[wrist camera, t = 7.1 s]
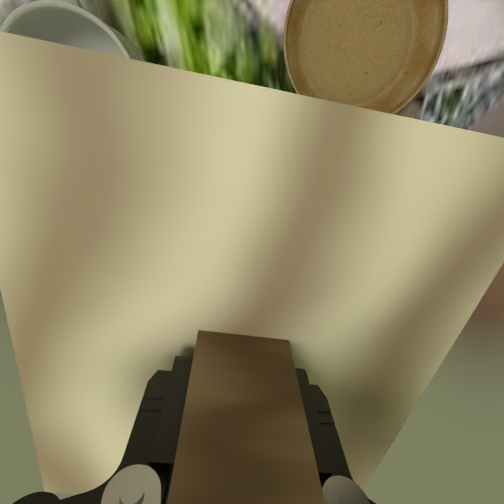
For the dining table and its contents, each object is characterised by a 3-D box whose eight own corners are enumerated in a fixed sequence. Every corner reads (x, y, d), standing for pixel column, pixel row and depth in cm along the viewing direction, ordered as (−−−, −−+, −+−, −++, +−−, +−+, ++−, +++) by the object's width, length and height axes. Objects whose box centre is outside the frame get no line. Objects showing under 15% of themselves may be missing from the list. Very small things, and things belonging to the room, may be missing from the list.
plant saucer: (352, -108, 24) (364, -132, 22) (463, 21, 28) (483, 12, 26) (249, 65, 29) (251, 61, 27) (357, 153, 33) (366, 156, 31)
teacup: (152, 163, 32) (128, 178, 25) (47, 128, 30) (-12, 134, 23) (182, 15, 27) (162, -20, 20) (56, -39, 25) (-17, -100, 18)
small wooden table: (381, 128, 20) (1043, 211, 4) (306, 347, 28) (402, 673, 12) (128, 76, 18) (-974, -266, 2) (128, 327, 26) (-53, 686, 10)
